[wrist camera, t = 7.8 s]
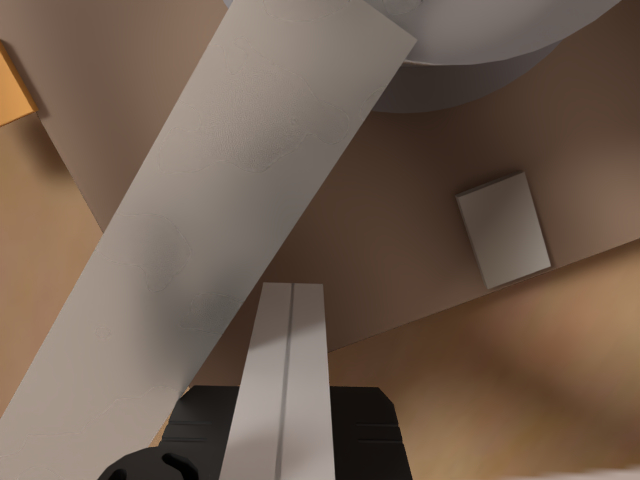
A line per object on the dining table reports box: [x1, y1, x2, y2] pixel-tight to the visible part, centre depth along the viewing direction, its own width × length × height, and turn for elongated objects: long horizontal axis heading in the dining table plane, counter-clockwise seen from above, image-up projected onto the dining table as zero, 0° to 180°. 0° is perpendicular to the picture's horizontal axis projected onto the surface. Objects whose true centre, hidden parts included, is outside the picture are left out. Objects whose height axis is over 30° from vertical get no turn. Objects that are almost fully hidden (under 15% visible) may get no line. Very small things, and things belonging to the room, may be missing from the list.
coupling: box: [0, 0, 621, 480], centre depth 10 cm, size 18×7×4 cm, turn 147°
